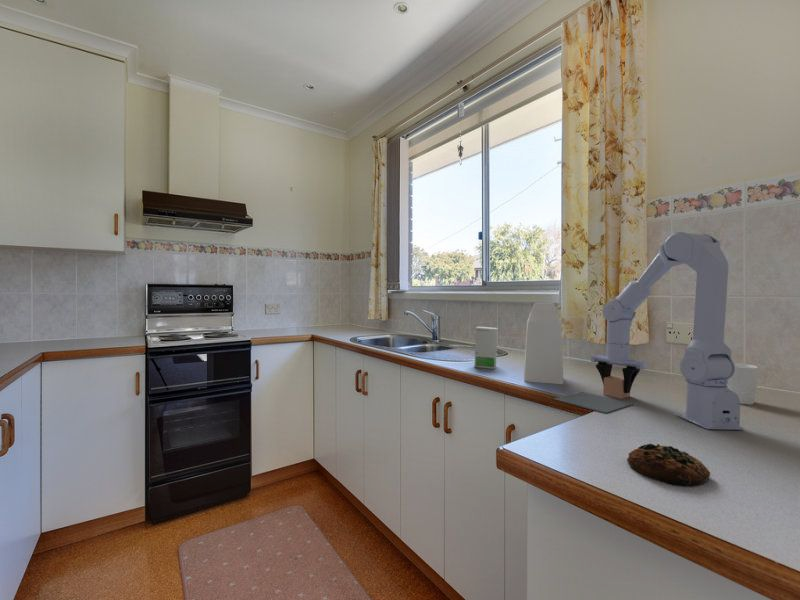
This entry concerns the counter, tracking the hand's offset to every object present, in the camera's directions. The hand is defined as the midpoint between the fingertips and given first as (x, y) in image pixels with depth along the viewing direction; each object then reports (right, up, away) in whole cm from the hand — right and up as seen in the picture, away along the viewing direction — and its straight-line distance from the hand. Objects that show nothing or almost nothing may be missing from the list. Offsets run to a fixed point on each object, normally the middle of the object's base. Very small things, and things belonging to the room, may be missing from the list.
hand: (616, 390), depth 109 cm
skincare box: (-29, -1, +40) cm, 49 cm away
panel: (-11, -1, -7) cm, 13 cm away
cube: (0, -1, 0) cm, 1 cm away
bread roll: (-18, -3, -47) cm, 50 cm away
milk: (-14, -1, +20) cm, 24 cm away
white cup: (+31, -2, -4) cm, 31 cm away
